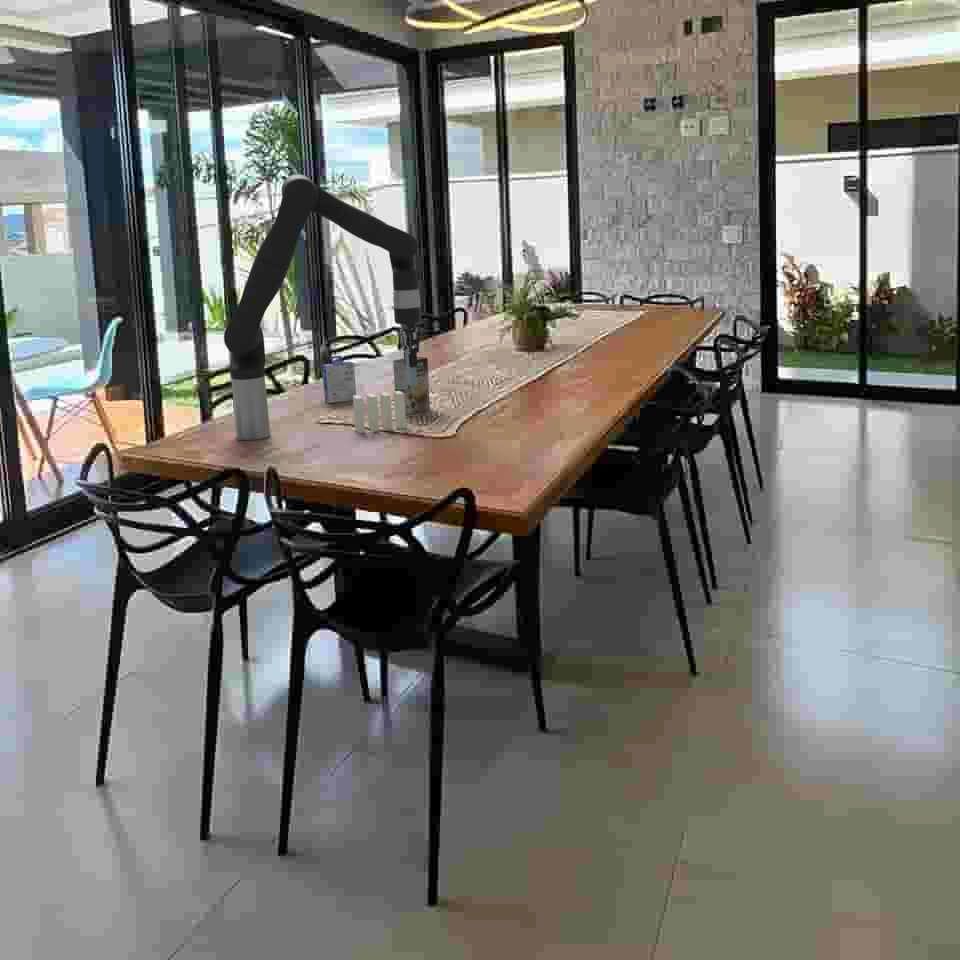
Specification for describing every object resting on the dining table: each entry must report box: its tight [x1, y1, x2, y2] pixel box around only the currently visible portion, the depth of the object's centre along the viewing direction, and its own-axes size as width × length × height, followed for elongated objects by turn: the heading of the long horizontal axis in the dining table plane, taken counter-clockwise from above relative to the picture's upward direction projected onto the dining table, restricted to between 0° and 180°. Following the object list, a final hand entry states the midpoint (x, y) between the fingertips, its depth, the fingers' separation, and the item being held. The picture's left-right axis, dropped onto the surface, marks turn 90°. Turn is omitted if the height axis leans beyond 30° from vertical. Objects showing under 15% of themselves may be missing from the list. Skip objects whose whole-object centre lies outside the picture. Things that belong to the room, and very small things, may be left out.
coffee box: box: [392, 356, 431, 415], centre depth 335 cm, size 9×6×16 cm
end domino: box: [405, 349, 417, 387], centre depth 313 cm, size 2×5×10 cm, turn 18°
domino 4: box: [393, 390, 407, 429], centre depth 315 cm, size 2×5×10 cm, turn 18°
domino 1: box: [352, 394, 366, 434], centre depth 311 cm, size 2×5×10 cm, turn 18°
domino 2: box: [366, 393, 380, 433], centre depth 312 cm, size 2×5×10 cm, turn 18°
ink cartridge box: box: [321, 355, 357, 404], centre depth 356 cm, size 10×6×14 cm, turn 115°
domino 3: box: [379, 391, 394, 431], centre depth 314 cm, size 2×5×10 cm, turn 18°
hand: (410, 365), depth 313 cm, fingers closed on end domino, 5 cm apart
